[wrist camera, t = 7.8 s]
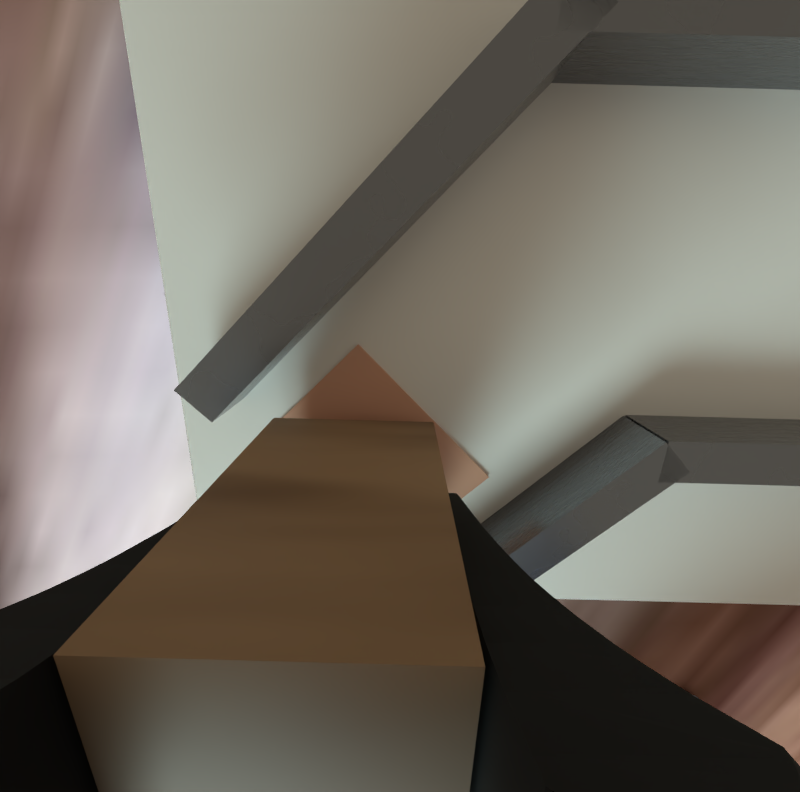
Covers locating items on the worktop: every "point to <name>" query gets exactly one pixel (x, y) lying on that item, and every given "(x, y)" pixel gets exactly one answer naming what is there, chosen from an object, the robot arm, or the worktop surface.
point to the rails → (450, 157)
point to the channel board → (489, 265)
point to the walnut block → (291, 628)
